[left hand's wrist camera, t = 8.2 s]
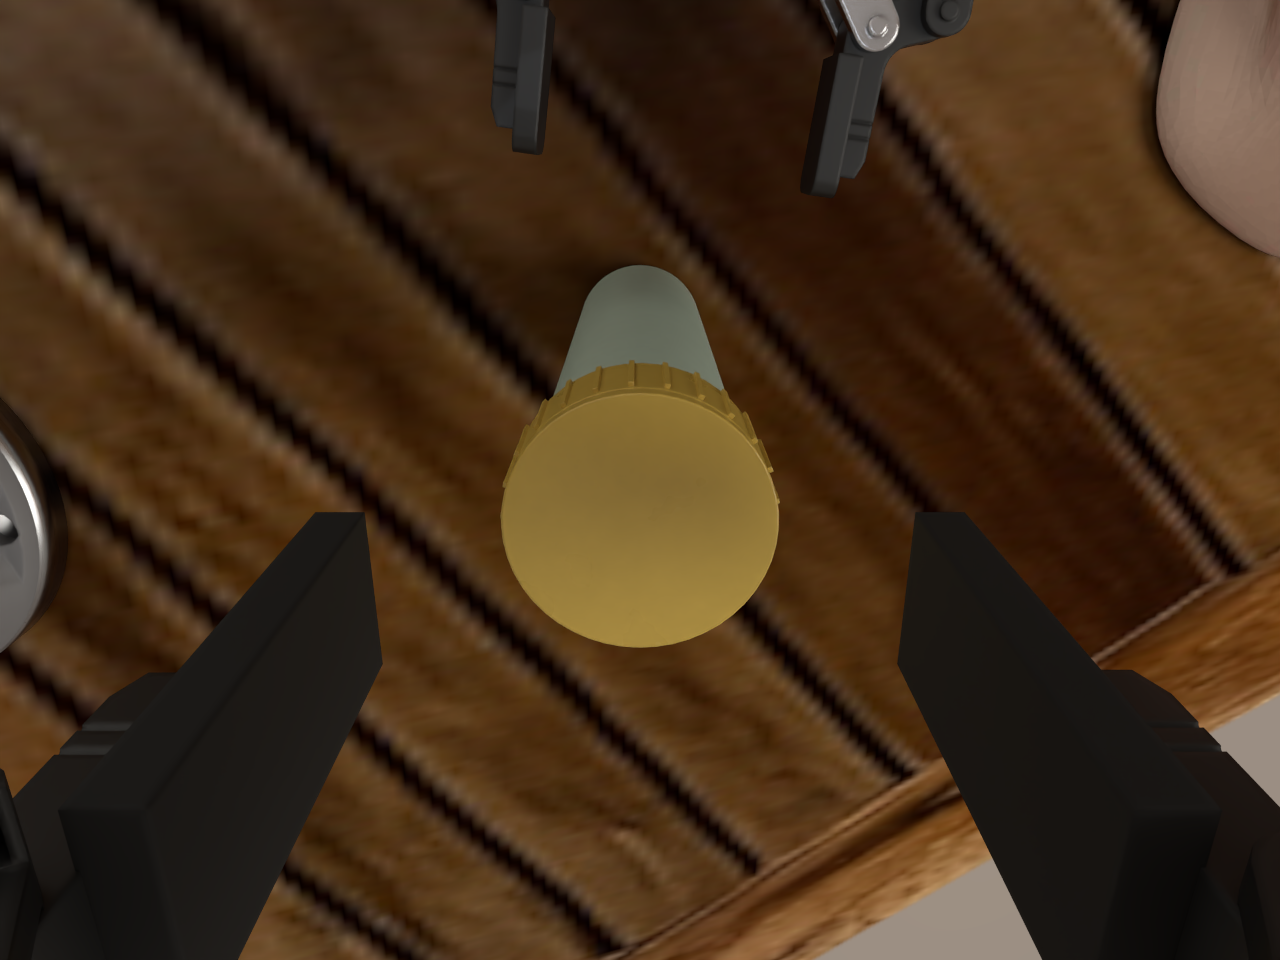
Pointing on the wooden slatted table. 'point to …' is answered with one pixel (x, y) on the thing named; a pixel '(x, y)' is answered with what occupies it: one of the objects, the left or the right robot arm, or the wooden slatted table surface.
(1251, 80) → the anatomical model
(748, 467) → the lid
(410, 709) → the wooden slatted table surface
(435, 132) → the wooden slatted table surface
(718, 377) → the pale green cylindrical bottle
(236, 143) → the wooden slatted table surface
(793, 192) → the wooden slatted table surface
